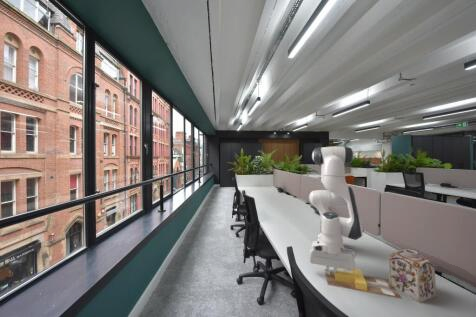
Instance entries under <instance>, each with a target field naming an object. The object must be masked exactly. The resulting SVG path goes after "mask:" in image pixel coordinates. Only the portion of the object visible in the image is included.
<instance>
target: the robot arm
mask: <svg viewBox="0 0 476 317" xmlns="http://www.w3.org/2000/svg"><path fill="white" fill-rule="evenodd" d="M354 155H355V154H354V151H353V149H352V148H351V147H350V146H338V145H337V146H336V145H335V146H333V145H331V146H326V147H325V146H324V147H321V146H320V147H315V148H314V149H313V150H312V154H311V159H312V161H313V163H314V164H316V165H318V166H319V167H321V168H320V182H321V183H322V185H323V187H324V188H325V189H317V190H316V189H315V190H311V192H310V193H309V195H308V200H309V202H310V203H311V205H312V206H314V207H315V208H316V210H317V211H318V212H319V217H320V232H319V234H317V240H313V241H312V243H311V247H310V250H309V262H310V264H313V265H317V266H318V265H319V266H325V269H327V270H328V273H329V275H332V276H335V272H336V271H337V270H338V269H343V270H350V271H351V270H355V269H356V262H355V259H356V252H355V251H354V250H353V249H352V248H346V247H345V246H344V238H348V239H350V240H354V241H357V240H358V239H361V238H362V237H363V234H364V233H363V232H364V229H363V225H362V222H361V219H360V215H359V210H358V205H357V202H356V197H355V193H354V190H353V187H352V186H349V185H348V183H347V182H346V172H345V170H346V169H345V165H350V164H352V162H353V160H354V157H355V156H354ZM346 207H347V209H348V214H349V217H343V216H340V215H339V213H336V212H334V211H332V210H330V208H346ZM343 237H344V238H343ZM330 267H331V268H333V269H330ZM332 270H333V271H332Z"/></svg>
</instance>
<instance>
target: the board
mask: <svg viewBox="0 0 476 317" xmlns="http://www.w3.org/2000/svg"><path fill="white" fill-rule="evenodd" d="M331 270H332V271H333V270H334V269H331ZM324 271H325V278H326V283H327V285H328V286H332V287H337V288H342V289H347V290H348V289H349V290H353V291H360V292H364V293H370V294H375V295H379V296H386V297H390V298H397V299H400V300H401V299H403V298H402V296H401V295H400V294H399V292H398V291H397V288H396V287H394V286H392V285H390V281H389V279H388V278H381V277H378V276H370V275H363V274H362V275H363V277H364V279H365V281H366V283H367V291H364V290H359V289H356V286H355V284H353V283H347V282H342V281H336V280H335V276H332V275H329V273H328V270H327V268H324Z"/></svg>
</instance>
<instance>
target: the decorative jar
mask: <svg viewBox="0 0 476 317" xmlns="http://www.w3.org/2000/svg"><path fill="white" fill-rule="evenodd" d="M418 253H419V252H417V251H416V250H413V249H408V248H407V249H406V248H405V249H403V250H401V249H400V250H395V251H393V252H392V254H391V255H390V256H389V257H388V276H389V279H388V280H389V281H390V285H392V286H393V287H394V288H395V289H398V290H399V291H401V292H403V293H405V294H407V295H409V297H410V298H412V300H413V301H415V302H417V303H419V304H420V303H423V302H425V301H427V300H431V299H433V298H436V296H437V295H436V294H437V293H436V274H435V273H436V271H435V269H436V268H435V265H434V263H432V261H431V260H429V259H428V258H427V257H426V256H424V255H421V254H418Z"/></svg>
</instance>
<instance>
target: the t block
mask: <svg viewBox="0 0 476 317" xmlns="http://www.w3.org/2000/svg"><path fill="white" fill-rule="evenodd" d="M335 280H336V281H342V282H347V283H353V284H355V286H356V289H359V290H364V291H367V283H366V281H365V279H364V277H363V272H362V271H361V269H357V268H355V270H350V271H345V270H338V269H337V271H336V272H335ZM364 291H363V292H364Z"/></svg>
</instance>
